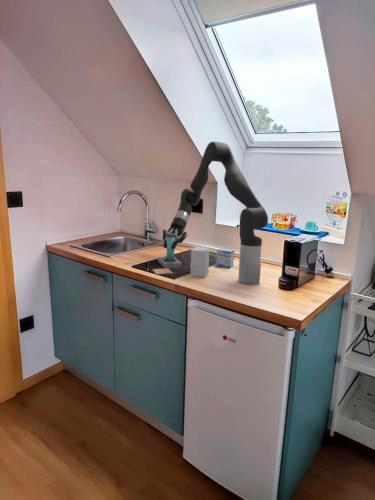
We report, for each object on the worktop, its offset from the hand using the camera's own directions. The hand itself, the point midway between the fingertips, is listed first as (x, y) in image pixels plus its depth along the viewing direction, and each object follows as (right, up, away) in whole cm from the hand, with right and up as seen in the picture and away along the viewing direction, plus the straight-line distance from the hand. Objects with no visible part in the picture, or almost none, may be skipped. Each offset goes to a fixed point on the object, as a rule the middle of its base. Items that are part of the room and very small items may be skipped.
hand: (168, 247), depth 190 cm
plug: (+1, -7, +3) cm, 7 cm away
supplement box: (+15, -13, -12) cm, 23 cm away
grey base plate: (0, -9, +4) cm, 9 cm away
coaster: (-2, -12, -9) cm, 15 cm away
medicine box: (+29, -10, +4) cm, 31 cm away
